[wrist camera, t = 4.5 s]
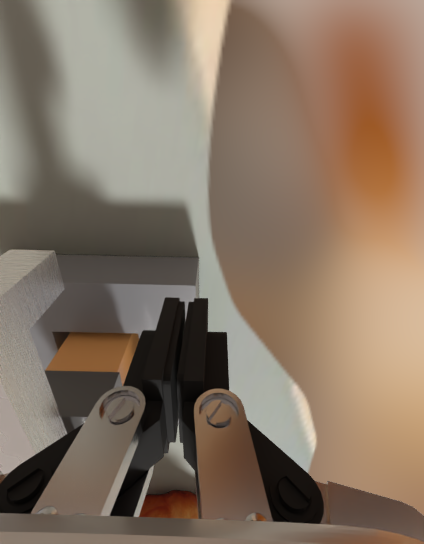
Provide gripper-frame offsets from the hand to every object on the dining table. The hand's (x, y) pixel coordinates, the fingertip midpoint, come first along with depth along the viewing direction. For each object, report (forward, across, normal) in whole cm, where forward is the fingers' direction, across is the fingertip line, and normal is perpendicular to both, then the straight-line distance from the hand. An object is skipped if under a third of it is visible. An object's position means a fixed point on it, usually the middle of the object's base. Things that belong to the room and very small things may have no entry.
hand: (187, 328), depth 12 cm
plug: (+10, +7, +9) cm, 16 cm away
